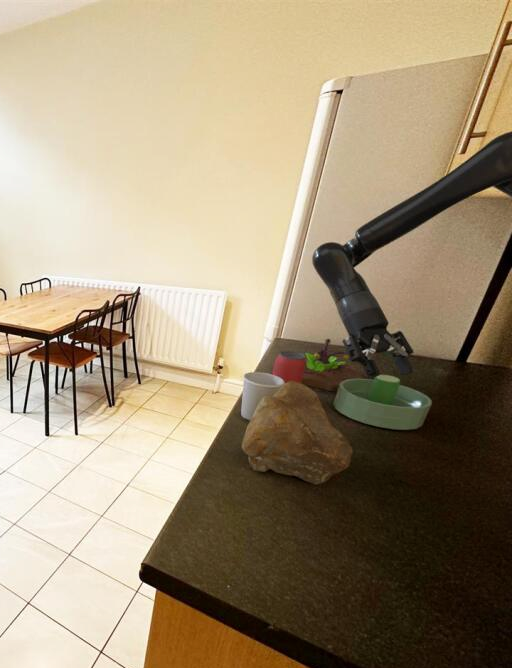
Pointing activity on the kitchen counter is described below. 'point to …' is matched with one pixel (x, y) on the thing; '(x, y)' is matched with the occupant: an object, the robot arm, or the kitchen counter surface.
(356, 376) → the plant
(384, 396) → the green cylinder
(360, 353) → the robot arm
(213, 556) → the kitchen counter surface
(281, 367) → the beer can
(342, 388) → the bowl
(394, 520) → the kitchen counter surface
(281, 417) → the rough brown rock
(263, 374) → the dixie cup
